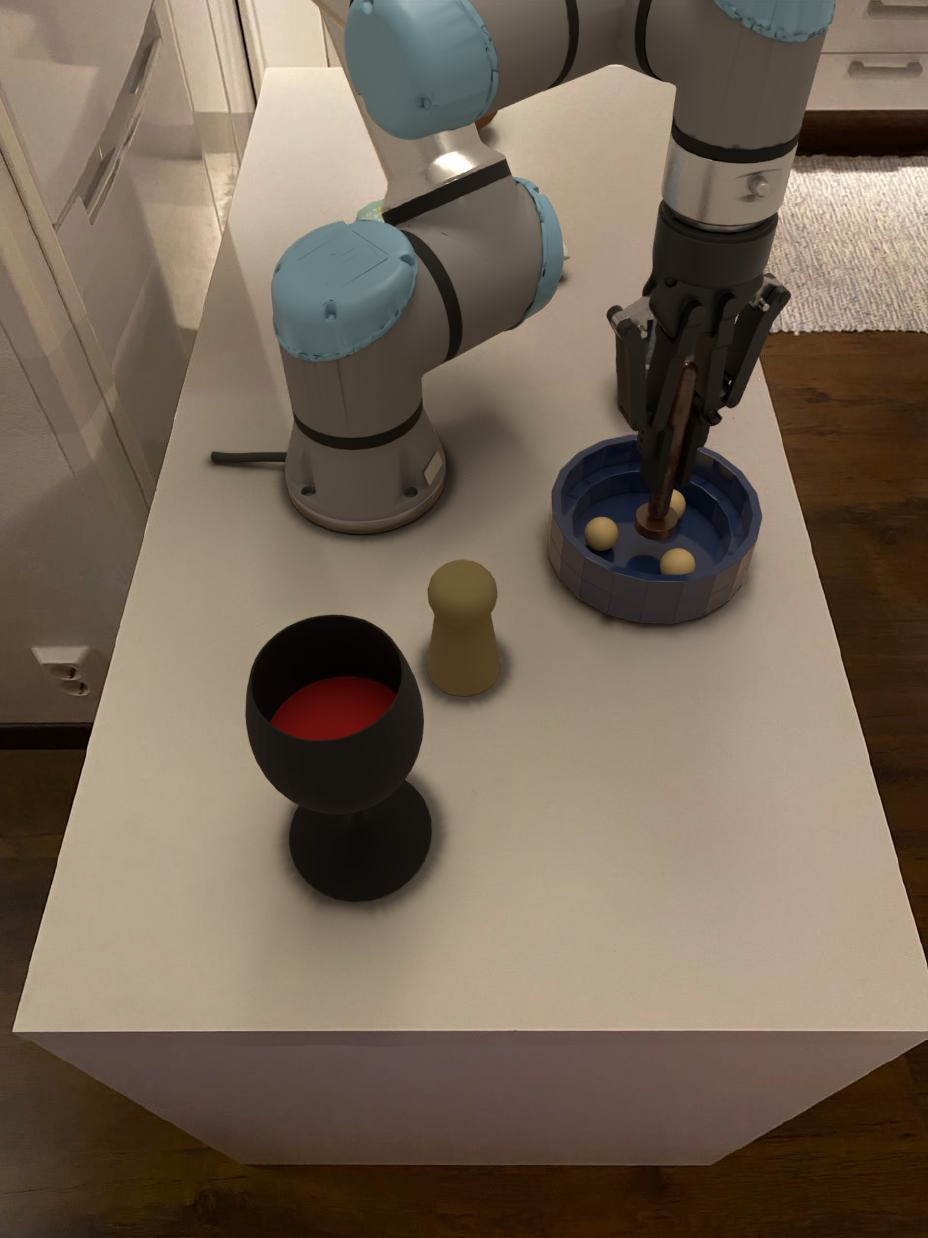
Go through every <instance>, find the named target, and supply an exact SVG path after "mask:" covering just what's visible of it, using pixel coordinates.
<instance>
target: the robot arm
mask: <svg viewBox="0 0 928 1238" xmlns="http://www.w3.org/2000/svg"><path fill="white" fill-rule="evenodd" d="M310 1H311V2H312V3H313V4H314V5H315V6H316V7H317V8H318V11H319V12H320V15H321V18H322V20H323V23H324V25H325V28H326V31H327V33H328V35H329V36H328V37H329V38H330V40H331V43H332V46H333V48H334V50H335V53H336V56H337V58H338V61H339V64H340V66H341V68H342V71H343V73H344V76H345V79H346V82H347V83H348V86H349V88H350V91H351V94H352V96H353V99H354V101H355V105H356V107H357V109H358V112H359V114H360V116H361V119H362V122H363V124H364V127H365V129H366V131H367V134H368V137H369V140H370V142H371V145H372V147H373V149H374V152H375V154H376V157H377V160H378V162H379V164H380V167H381V170H382V172H383V175H384V177H385V180H386V184H387V185H386V191H385V193H384V197H383V199H384V200H383V202H382V205H381V208H380V212H381V215H382V217H383V220H384V222H385V223H384V222H380V221H376V220H370V219H356V218H355V220H354V221H353V222H352V223H349V224H348V223H346V222H345V221H344V220H339V221H334V222H331V223H328V224H324V225H322V226H319V227H317V228H315V229H313V230H311V231H309V232H307V233H305V234H304V235H302V236H300V237H299V238H297V240H295V241H294V242H293V243H292V244H291V245H290V246H289V247H288V248H287V249H286V250H285V251H284V252H283V254H282V255H281V256H280V258H279V260H278V261H277V263H276V265H275V267H274V270H273V275H272V279H271V282H270V296H271V305H272V328H273V332H274V335H275V338H276V340H277V342H278V347H279V352H280V357H281V361H282V366H283V372H284V376H285V377H284V378H285V381H286V382H285V383H286V387H287V392H288V396H289V401H290V406H291V411H292V417H293V423H292V427H291V432H290V437H289V442H288V447H287V450H286V451H263V452H262V451H256V452H255V451H253V452H252V451H251V452H223V451H222V452H221V451H214V450H213V451H211V453H210V460H211V461H212V462H216V463H226V464H243V463H244V464H247V463H284V478H285V483H286V489H287V493H288V495H289V498H290V501H291V502H292V504H293V506H294V507H295V508H296V509H297V510H298V512H299V513H300V514H301V515H302V516H304V517H305V518H306V519H308V520H309V521H310V522H312V523H314V524H316V525H318V526H320V527H321V528H325V529H327V530H331V531H335V532H339V533H345V534H356V535H357V534H358V535H362V534H376V533H383V532H387V531H391V530H394V529H398V528H401V527H402V526H405V525H408V524H409V523H412V522H413V521H415V520H417V519H419V518H420V517H421V516H423V515H424V514H425V513H427V512H428V511H429V510H430V509H432V507H433V506H434V505H435V504H436V502H437V501H438V500H439V498H440V496H441V495H442V493H443V490H444V488H445V484H446V476H447V474H446V473H447V472H446V471H447V470H446V456H445V453H444V449H443V446H442V443H441V441H440V438H439V437H438V434H437V433H436V430H435V429H434V426H433V424H432V422H431V420H430V418H429V415H428V414H427V411H426V409H425V408H424V407H425V406H424V403H423V379H422V378H423V377H424V375H425V374H427V373H429V372H430V371H432V370H434V369H436V368H438V367H439V366H442V365H443V364H445V363H448V362H450V361H452V360H453V359H455V358H458V357H459V356H461V355H462V354H465V353H466V352H468V351H470V350H472V349H474V348H476V347H477V346H480V345H481V344H483V343H485V342H487V341H489V340H491V339H492V338H494V337H496V336H498V335H500V334H502V333H505V332H508V331H513V330H515V329H517V328H518V327H520V326H521V325H523V323H524V322H525V321H526V320H528V319H529V318H531V317H532V316H534V315H536V314H537V313H539V312H540V311H542V310H543V309H544V308H545V307H547V305H548V304H549V303H550V302H551V300H552V299H553V298H554V296H555V295H556V293H557V290H558V283H559V281H560V280H561V278H562V276H561V275H563V273H562V269H563V268H564V261H563V260H564V249H563V242H564V241H563V240H564V239H563V234H562V229H561V226H560V225H561V224H560V222H559V218H558V215H557V213H556V211H555V209H554V206H553V204H552V203H551V201H550V199H549V198H548V196H547V195H546V194H545V193H540V187H539V186H538V185H536V184H535V183H534V182H533V181H531V180H529V179H527V178H524V177H518V176H513V173H512V171H511V168H510V166H509V163H508V159H507V157H506V154H504V153H503V152H500V151H498V150H496V149H494V148H492V147H490V146H488V145H486V144H485V143H484V142H483V141H482V139H481V138H480V135H479V132H477V129H476V126H475V123H474V122H475V121H477V120H479V119H480V118H482V117H485V116H487V115H489V114H492V113H494V112H496V111H498V112H499V111H500V110H501V111H502V110H503V109H506V108H508V107H510V106H512V105H515V104H517V103H519V102H522V101H524V100H526V99H529V98H531V97H533V96H535V95H539V94H540V93H543V92H546V91H549V90H552V89H553V88H556V87H558V86H561V85H564V84H566V83H569V82H572V81H573V80H577V79H579V78H582V77H584V76H586V75H589V74H592V73H594V72H596V71H598V70H601V69H604V68H606V67H608V66H617V65H618V66H622V67H626V68H628V69H630V70H632V71H635V72H638V73H640V74H642V75H645V76H647V77H649V78H652V79H654V80H657V81H660V82H663V83H667V84H671V85H673V86H674V87H675V95H674V101H673V102H674V103H673V109H672V120H671V127H670V133H669V140H668V144H667V145H668V146H667V151H666V157H665V161H664V162H665V163H664V168H663V174H662V181H661V186H660V187H661V189H660V190H661V191H660V195H661V197H662V199H661V201H660V202H659V205H658V209H657V215H656V216H657V217H656V223H655V228H654V229H655V231H654V237H653V241H652V251H651V253H652V254H651V256H652V257H651V259H652V261H651V262H652V263H651V264H652V269H651V273H650V275H649V277H648V278H647V280H646V282H645V284H644V285H643V288H642V290H641V297H640V298H638V299H637V300H635V301H634V302H633V303H631V304H630V305H628V306H627V307H625V308H623V307H622V306H621V305H619V304H614V305H612V306H611V307H610V308H608V309H607V312H606V315H605V316H606V320H607V321H608V323H609V325H610V328H612V330H613V332H614V334H615V335H614V338H615V339H614V340H615V369H616V368H617V373H616V392H617V393H616V394H617V395H616V396H617V409H618V412H619V413H620V414H621V416H622V418H623V419H624V421H625V422H626V423H627V425H628V426H629V428H630V429H631V430H632V432H637V434H636V435H637V436H638V437H637V441H636V448H637V450H638V452H639V453H640V455H641V456H642V460H641V466H640V472H639V474H640V475H641V477H642V478H643V480H644V481H645V483H646V485H647V486H648V488H649V489H650V491H651V492H652V494H653V495H655V494H659V493H662V488H663V484H664V479H665V474H666V469H667V464H668V459H669V454H670V449H671V444H672V440H673V435H674V430H673V428H672V427H671V425H670V424H669V423H668V422H667V421H668V417H669V414H670V410H671V407H672V404H673V400H674V397H675V393H676V390H677V386H678V383H679V379H680V376H681V373H682V369H683V366H684V362H685V359H686V356H690V355H691V353H692V350H693V347H694V343H695V351H694V359H693V362H694V363H695V364H696V366H697V367H698V378H697V383H696V388H695V392H694V397H693V401H692V406H691V411H690V415H689V420H688V425H687V429H686V434H685V438H684V443H683V448H682V452H681V457H680V462H679V466H678V471H677V475H676V482H677V483H678V485H679V486H680V488H683V487H687V486H689V484H690V480H691V475H692V471H693V467H694V462H695V458H696V454H697V449H698V448H700V447H705V445H706V443H707V442H708V438H709V434H710V429H711V427H715V426H717V425H719V424H720V423H721V422H722V420H723V417H722V415H721V414H720V413H719V411H720V410H722V409H723V408H725V407H726V408H727V409H734V408H736V407H737V406H738V405H739V404H740V403H741V402H742V401H741V400H742V398H743V396H744V393H745V391H746V389H747V386H748V385H749V384H748V383H749V382H750V379H751V378H752V377H751V376H752V375H753V372H754V369H755V367H756V364H757V362H758V360H759V358H760V356H761V352H762V350H763V348H764V346H765V343H766V341H767V338H768V336H769V334H770V331H771V329H772V326H773V324H774V322H775V321H776V319H777V318H778V317H779V316H780V314H781V312H782V311H783V309H784V308H786V306H787V305H788V303H789V301H790V299H792V294H791V291H790V290H789V289H788V288H787V287H785V285H784V284H783V283H782V282H781V281H780V280H779V279H778V277H776V276H775V275H774V274H773V273H771V272H766V273H764V271H765V269H766V267H767V266H768V263H769V259H770V255H771V251H772V247H773V243H774V240H775V236H776V232H777V228H778V224H779V219H780V217H779V212H778V211H779V210H780V209H781V207H782V205H783V204H784V200H785V195H786V191H787V188H788V183H789V180H790V176H791V172H792V168H793V164H794V160H795V156H796V153H797V149H798V145H799V138H800V134H801V131H802V130H801V129H802V127H803V120H804V116H805V113H806V110H807V106H808V102H809V98H810V95H811V91H812V87H813V83H814V80H815V76H816V73H817V70H818V65H819V62H820V59H821V55H822V51H823V48H824V44H825V40H826V36H827V32H828V31H829V28H830V27H829V26H830V25H832V24H833V21H834V19H835V12H836V4H837V3H836V0H310ZM563 270H564V269H563ZM651 315H654V317H655V318H656V320H657V323H656V327H655V335H656V342H655V346H654V350H653V354H652V358H651V362H650V366H649V369H648V373H647V377H646V351H645V345H644V342H643V338H645V337H647V335H648V332H647V331H646V330H647V321H648V318H649V317H650V316H651ZM695 340H696V342H695Z"/></svg>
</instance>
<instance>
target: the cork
mask: <svg viewBox="0 0 928 1238" xmlns="http://www.w3.org/2000/svg"><path fill="white" fill-rule="evenodd" d="M426 590H427V600H428V605H429V606H430V609H431V611H432V612H433V621H432V628H431V635H430V642H429V649H428V655H427V662H426V667H427V674H428V676H429V678H430V680H431V682H432V684H433V685H435V686H436V687H437V688H438V689H439V690H440V691H443V692H444V693H447V694H449V695H453V696H457V697H467V696H470V697H471V696H474V695H478V694H480V693H483V692H485V691H486V690H488V689H490V688H491V687H492V686H493V685H494V684H495V682H496V681H497V679H498V678H499V675H500V673H501V672H500V671H501V667H502V666H501V665H502V664H501V659H500V653H499V648H498V644H497V638H496V633H495V628H494V627H495V626H494V623H493V617H492V613H493V611H494V609H495V607H496V603H497V600H498V586H497V582H496V579H495V578H494V576H493V573H491V571H490V570H488V569H487V567H485V566H484V565H483V564H482V563H479V562H477V561H475V560H471V559H470V560H469V559H454V560H452V561H447V562H446V563H444V564H443V565H441V566H439V568H437V569H436V570H435V571H434V573H433V574H432V575H431V577H430V579H429V583H428V586H427V588H426Z"/></svg>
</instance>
